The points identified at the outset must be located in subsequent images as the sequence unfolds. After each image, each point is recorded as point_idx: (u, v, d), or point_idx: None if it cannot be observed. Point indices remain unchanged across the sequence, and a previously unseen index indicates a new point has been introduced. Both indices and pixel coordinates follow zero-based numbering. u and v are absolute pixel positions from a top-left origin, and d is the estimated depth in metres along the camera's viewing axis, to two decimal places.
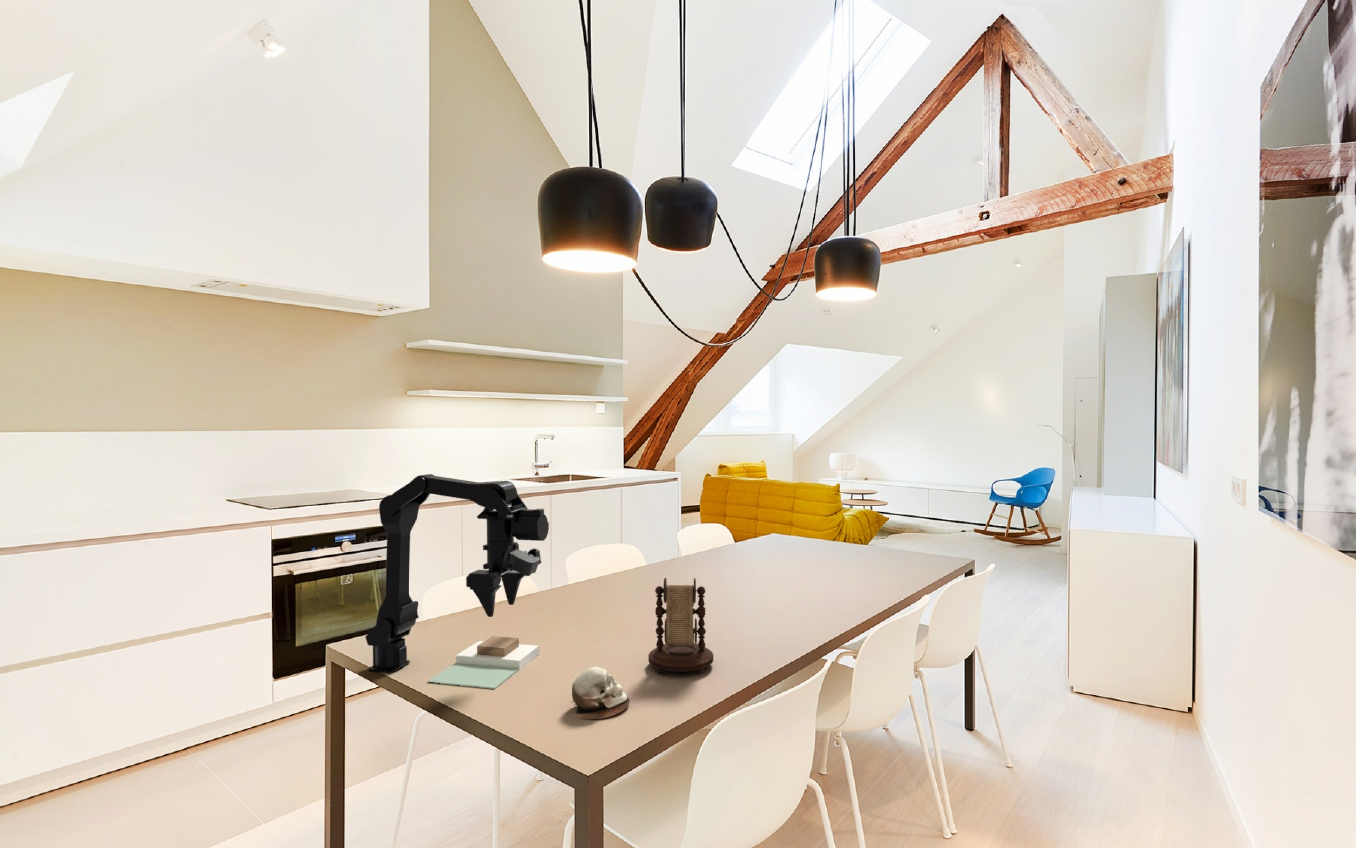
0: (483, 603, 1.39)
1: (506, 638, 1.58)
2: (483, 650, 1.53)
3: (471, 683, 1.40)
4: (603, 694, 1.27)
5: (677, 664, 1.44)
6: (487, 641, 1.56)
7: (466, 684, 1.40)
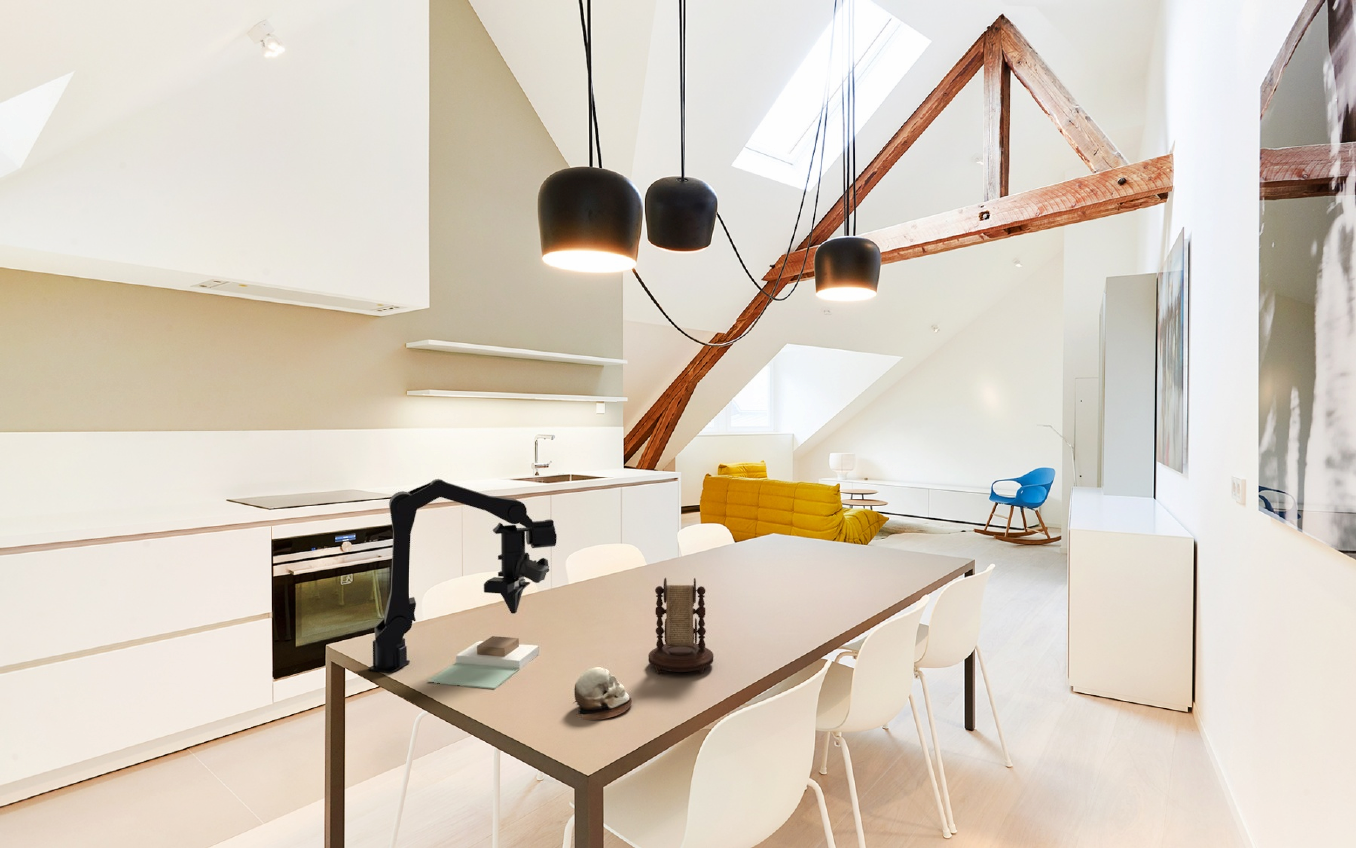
0: (507, 602, 1.62)
1: (506, 638, 1.58)
2: (483, 650, 1.53)
3: (471, 683, 1.40)
4: (606, 694, 1.27)
5: (677, 664, 1.44)
6: (487, 641, 1.56)
7: (466, 684, 1.40)
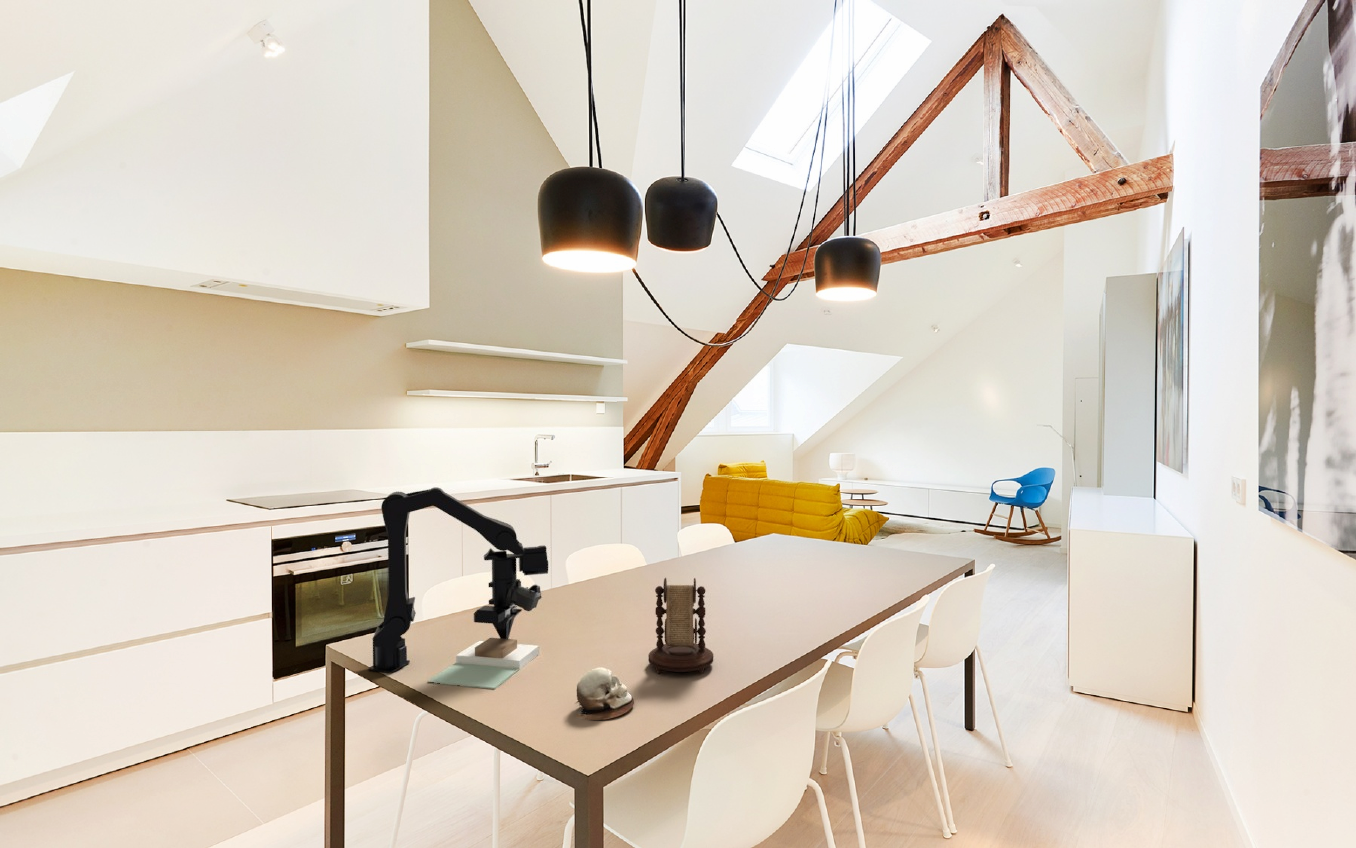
0: (498, 630, 1.58)
1: (504, 639, 1.57)
2: (480, 651, 1.52)
3: (471, 683, 1.40)
4: (608, 695, 1.27)
5: (677, 664, 1.44)
6: (485, 643, 1.55)
7: (466, 684, 1.40)
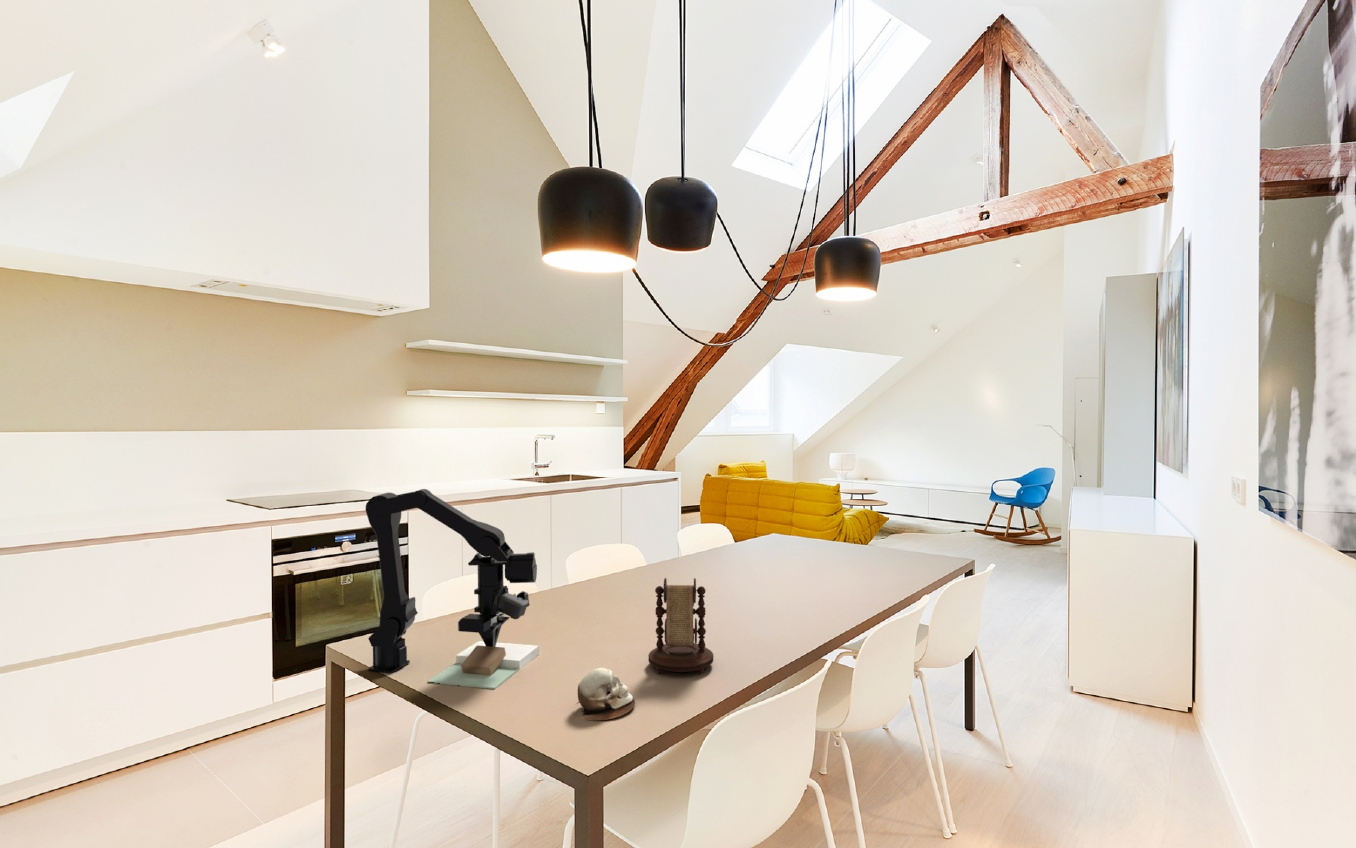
0: (484, 639, 1.52)
1: (491, 649, 1.51)
2: (468, 669, 1.46)
3: (471, 683, 1.40)
4: (609, 695, 1.27)
5: (677, 664, 1.44)
6: (471, 656, 1.49)
7: (466, 684, 1.40)
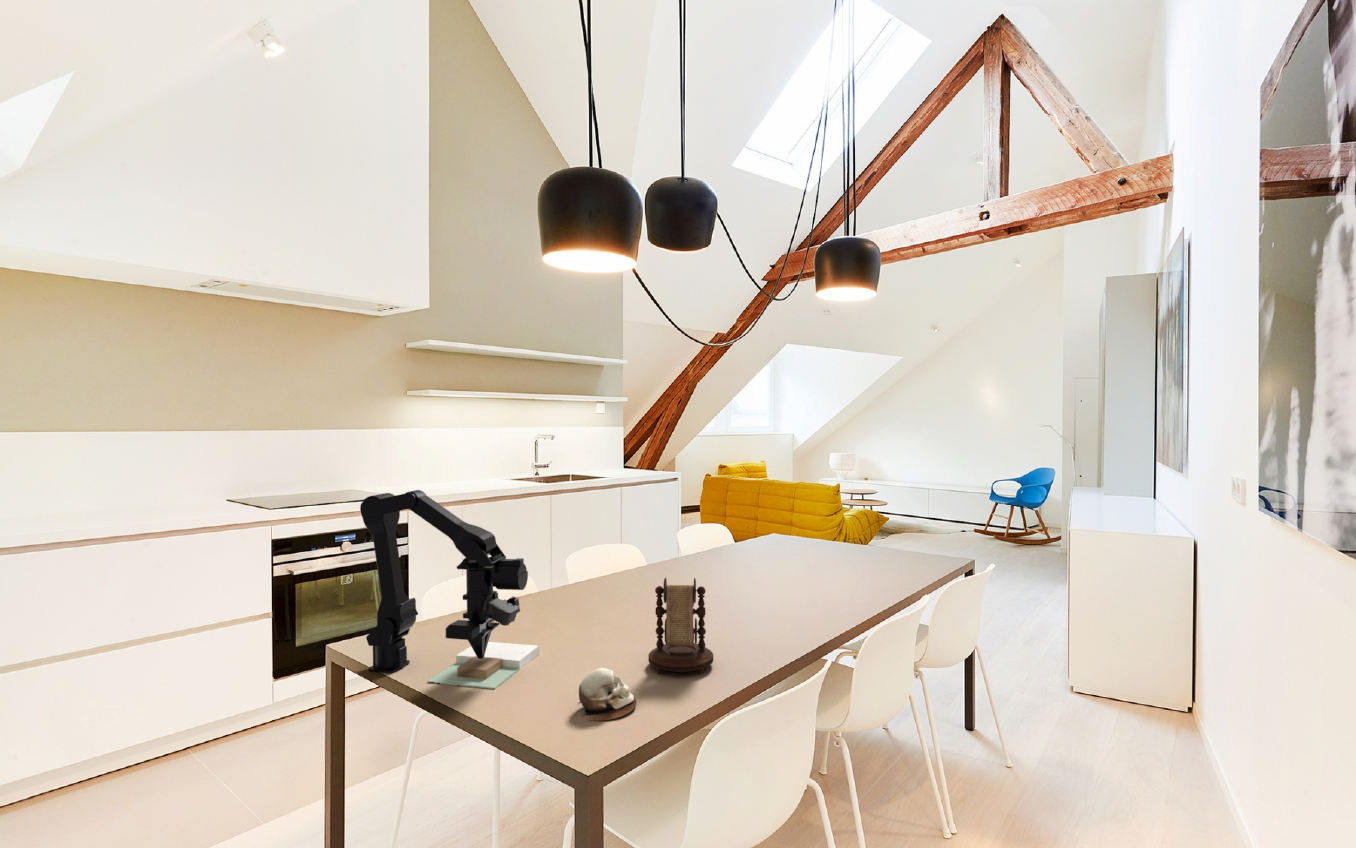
0: (473, 646, 1.47)
1: (489, 658, 1.49)
2: (463, 672, 1.44)
3: (471, 683, 1.40)
4: (611, 695, 1.27)
5: (677, 664, 1.44)
6: (468, 662, 1.47)
7: (466, 684, 1.40)
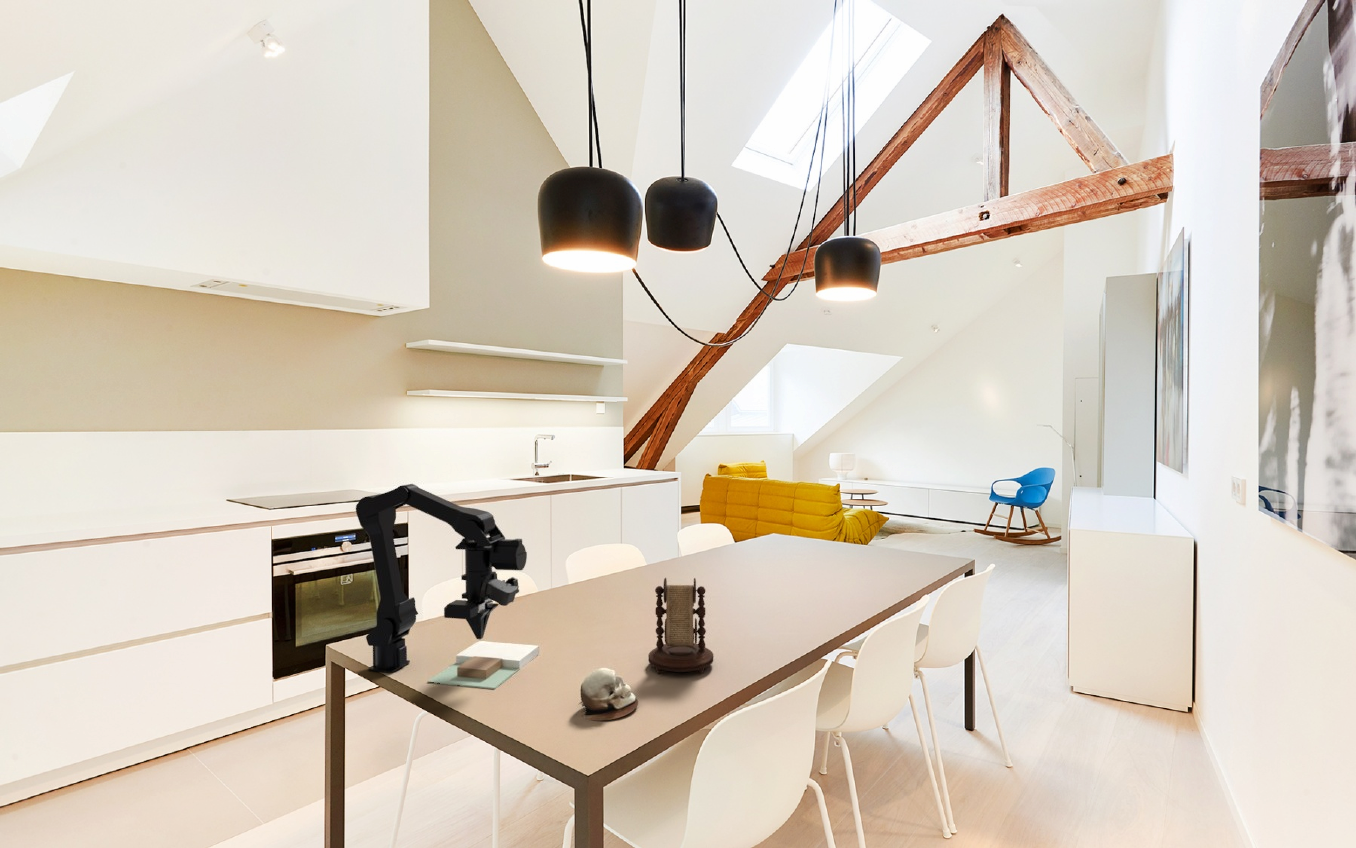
0: (472, 626, 1.46)
1: (489, 658, 1.49)
2: (463, 672, 1.44)
3: (471, 683, 1.40)
4: (612, 695, 1.27)
5: (677, 664, 1.44)
6: (468, 662, 1.47)
7: (466, 684, 1.40)
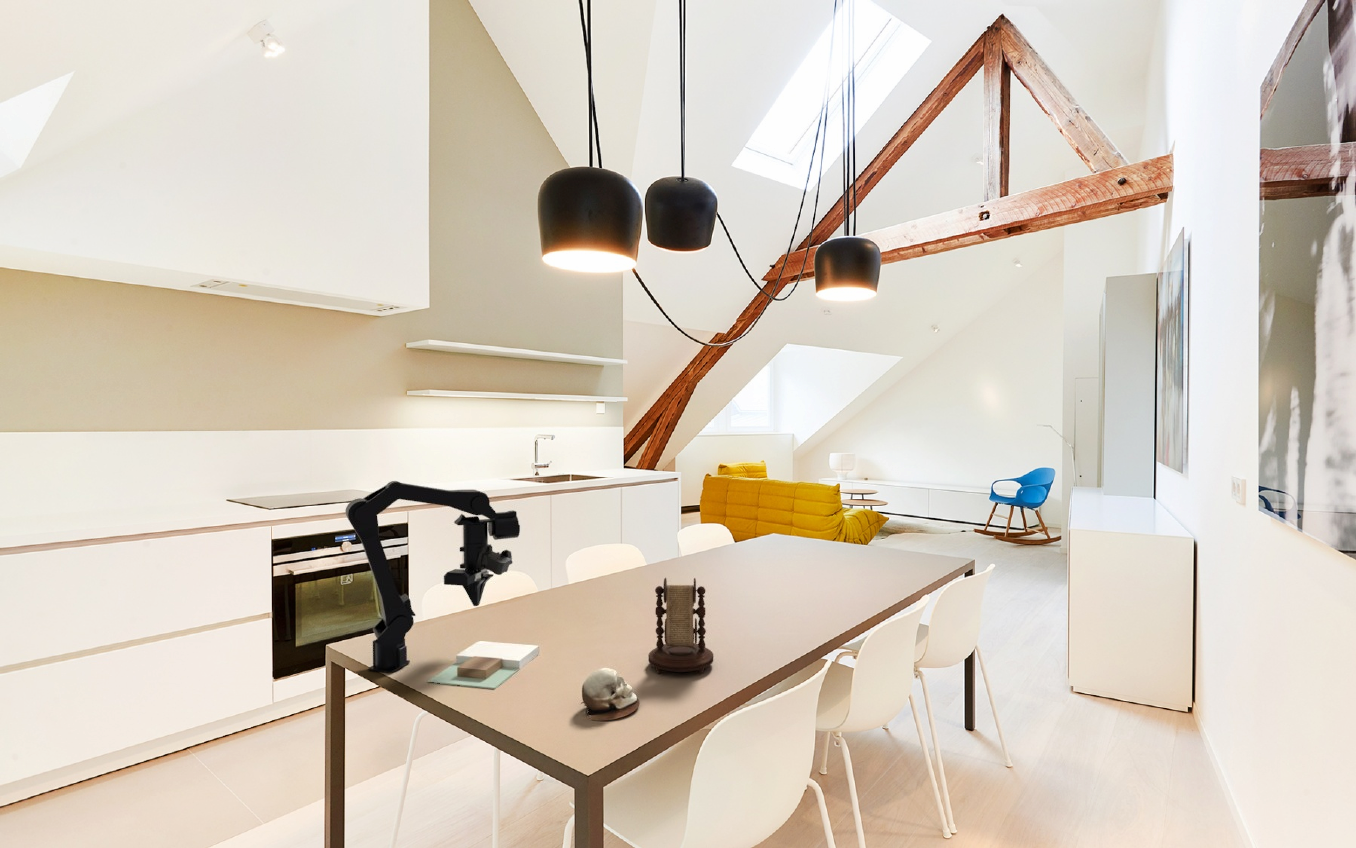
0: (469, 594, 1.60)
1: (489, 658, 1.49)
2: (463, 672, 1.44)
3: (471, 683, 1.40)
4: (614, 695, 1.27)
5: (677, 664, 1.44)
6: (468, 662, 1.47)
7: (466, 684, 1.40)
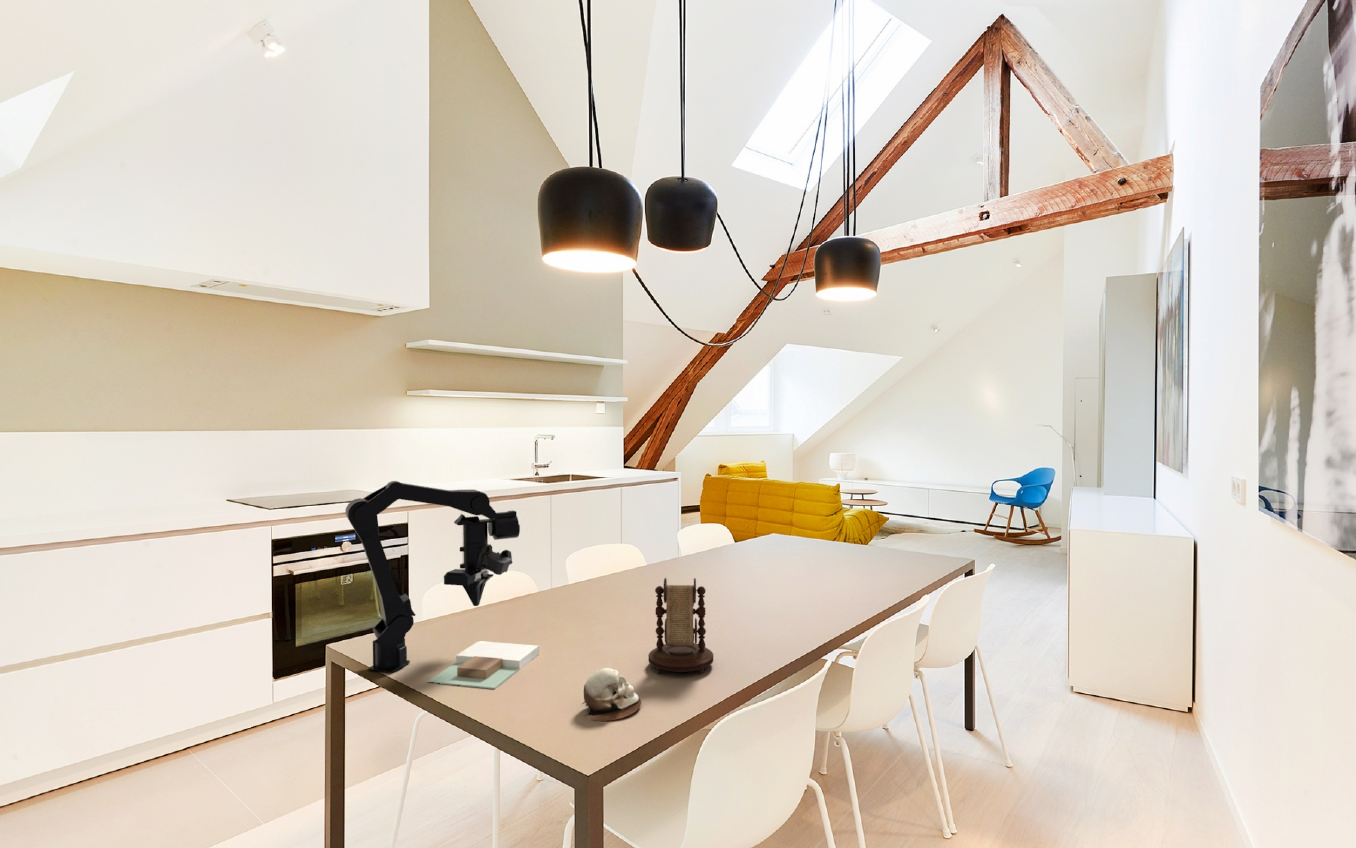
0: (469, 594, 1.60)
1: (489, 658, 1.49)
2: (463, 672, 1.44)
3: (471, 683, 1.40)
4: (615, 695, 1.26)
5: (677, 664, 1.44)
6: (468, 662, 1.47)
7: (466, 684, 1.40)
